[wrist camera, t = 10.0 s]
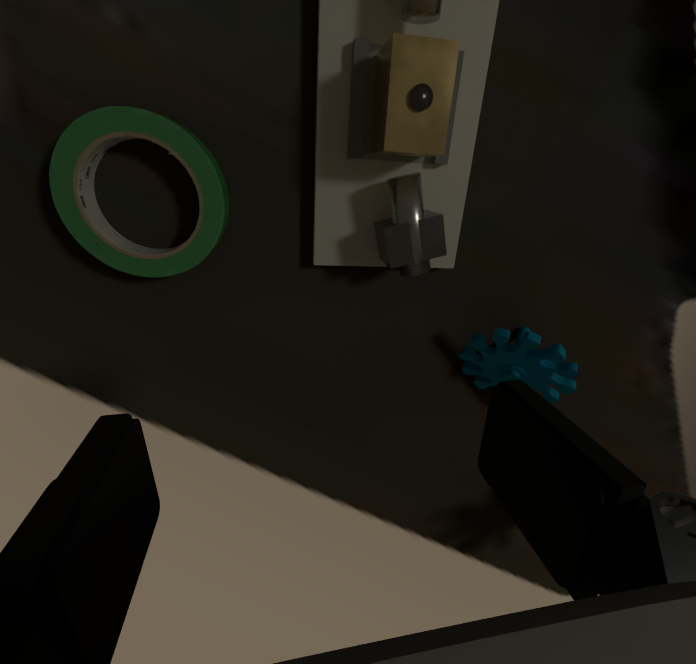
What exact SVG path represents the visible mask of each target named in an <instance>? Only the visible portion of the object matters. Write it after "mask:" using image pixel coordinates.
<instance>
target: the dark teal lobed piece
mask: <svg viewBox="0 0 696 664" xmlns="http://www.w3.org/2000/svg"><path fill="white" fill-rule="evenodd" d="M510 334H511V332H510V330H507V329H501V328H496V329H495V331H494V334H493V337H492V339H493V341H494V342H495V344H496V347H495V348H490V347H488V346H486V344H485V342H486V336H485V335H483V334H476V335H473V336H471V339H470V342H469V344H470V345H471V346H472V347H473V348H475V349H476V350H478V351H479V352H480V353H481V354H482V356H481V355H478V354H476V353H475V351H474V349H473V348H472V347H471V346H468V345H466V346H464V347H463V348H462V350H461V352H460V355H459V357H460V358H461V359H463V360H465V361H464V364H463V367H462V371H463V373H464V374H466V375H476V376H475V379H474V384H475V385H476V386H477V387H478V388H479V389H485V388H486V387H489V386H496V387H497V384H498V383H499V382H501V381H509V380H522V381H524V382H525V383H526V384H527V385H528V386H530V387H531V388H532V389H533V390H534V391H536V392H537V391H538V390H539V391H542V392H543V398H544V399H545V400H546V401H548V402H549V403H555V402H558V399H559V392H558V391H556V390H555V389H553V388H552V387H550V386H549V384H554V385H556V386H557V387H558V389H559V391H560V392H561V393H563V394H566V395H567V394H570V393H572V392H574V391H575V390H576V382H575V381H574V379H575V378H576V376H577V369H578V364H576V363H574V362H566V363H561V362H563V361H565V356H566V351H565V349H564V348H563V347H562V346H561V345H560V344H554V345H551V346H550V347H548V348H545V349H541V350H530V349H536V348H538V347H539V345H540V340H541V337H540V336H539V335H537V334H535V333H533V332H531V331H530V329H529V328H527V327H521V328H520V329H519V332H518V336H517V339H516V343H515V345H507V344H506V343H508V341H509V338H510ZM547 359H548V360H547ZM550 360H551V361H550ZM476 364H477V365H476ZM554 372H556V373H559V374H560V375H562V376H563V377H561V376H559V375H557V374H556V373H554ZM564 377H565V378H564Z"/></svg>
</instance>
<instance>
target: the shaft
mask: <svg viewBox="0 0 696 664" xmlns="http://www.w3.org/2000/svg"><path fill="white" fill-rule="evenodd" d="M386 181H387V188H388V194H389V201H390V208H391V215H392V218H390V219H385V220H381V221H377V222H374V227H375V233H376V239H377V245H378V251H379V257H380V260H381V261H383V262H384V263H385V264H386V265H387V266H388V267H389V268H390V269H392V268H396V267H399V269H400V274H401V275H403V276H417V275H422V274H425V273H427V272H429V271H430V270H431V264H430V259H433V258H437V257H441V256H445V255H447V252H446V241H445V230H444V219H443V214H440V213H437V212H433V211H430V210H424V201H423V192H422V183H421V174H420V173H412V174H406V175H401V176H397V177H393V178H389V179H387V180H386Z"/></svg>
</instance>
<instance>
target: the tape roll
mask: <svg viewBox="0 0 696 664" xmlns="http://www.w3.org/2000/svg"><path fill="white" fill-rule="evenodd" d="M130 139H146V140H149V141H152V142H154V143H156V144H158V145H160V146H162V147H163V148H165V149H167V150H168V151H169V154H172V155H173V156H175V157H176V158H177V159H178V160H179V161H180V162H181V163H182V164H183V166H184V167H185V168H186V170H187V171H188V173H189V175H190V176H191V178H192V180H193V182H194V184H195V186H196V190H197V192H198V197H199V210H200V211H199V218H198V221H197V225H196V228H195V230H194V232H193V233H192V235H191V236H190V238H189V239H188V240H187V241H186V242H185V243H183V244H181V245H179V246H176V247H173V248H169V249H152V248H146V247H143V246H140V245H137V244H135V243H133V242H131V241H129V240H127V239H126V238H124V237H123V236H121V235H120V234H119V233H118V232H116V231H115V230H114V229H113V228H112V226H111V225H110V224H109V223H108V222H107V220H106V219H105V217H104V216H103V214H102V212H101V211H100V208H99V206H98V204H97V201H96V197H95V192H94V176H95V171H96V168H97V166H98V163H99V161H100V160H101V158H102V157H103V155H104V154H105V153H106V152H107V151H108V150H109V149H110V148H112V147H113V146H115V145H116V144H118V143H120V142H123V141H126V140H130ZM49 183H50V189H51V194H52V199H53V202H54V205H55V207H56V210H57V212H58V214H59V216H60V218H61V220H62V222H63V223H64V225H65V226H66V228H67V229H68V231H69V232H70V234H71V235H72V236H73V237H74V239H75V240H76V241H77V242H78V243H79V244H80V245H81V246H82V247H83V248H84V249H85V250H87V251H88V252H89V253H90V254H91V255H93V256H94V257H95V258H97V259H98V260H100V261H101V262H103V263H105V264H106V265H108V266H110V267H112V268H114V269H116V270H119V271H122V272H125V273H128V274H131V275H135V276H142V277H152V278H155V277H167V276H173V275H177V274H180V273H183V272H185V271H187V270H189V269H191V268H193V267H195V266H196V265H198V264H199V263H200V262H202V261H203V260H204V259H205V258H206V257H207V256H208V255H209V254H210V253H211V251H212V250H213V249H214V248H215V247H216V245H217V244H218V242H219V241H220V239H221V237H222V235H223V233H224V231H225V228H226V225H227V221H228V215H229V197H228V190H227V186H226V182H225V179H224V176H223V174H222V171H221V169H220V167H219V165H218V163H217V161H216V160H215V158H214V157H213V155H212V154H211V152H210V151H209V150H208V148H207V147H206V146H205V145H204V144H203V143H202V142H201V141H200V140H199V139H198V138H197V137H196V136H195V135H194V134H193V133H192V132H190V131H189V130H188V129H186V128H185V127H184V126H182V125H180V124H179V123H177V122H175V121H173V120H171V119H169V118H167V117H164V116H162V115H159V114H156V113H153V112H150V111H147V110H144V109H140V108H135V107H127V106H110V107H104V108H100V109H96V110H93V111H91V112H88V113H86V114H84V115H82V116H81V117H79V118H78V119H76V120H75V121H74V122H73V123H71V124H70V125H69V126H68V127H67V128H66V130H65V131H64V132H63V133H62V135H61V136H60V138H59V140H58V141H57V144H56V145H55V148H54V151H53V154H52V157H51V162H50V168H49Z"/></svg>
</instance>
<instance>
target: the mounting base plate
mask: <svg viewBox="0 0 696 664" xmlns="http://www.w3.org/2000/svg"><path fill="white" fill-rule="evenodd" d="M498 5H499V0H442V6H441V14H440V19H439V20H438V21H436V22H434V23H431V24H424V25H417V24H410V23H407V22H405V21H403V20H402V19H401V6H402V0H318V44H317V91H316V138H315V186H314V233H313V264H314V265H333V266H376V267H388V266H387V265H386V264H385V263H384V262H383V261H381V260H380V257H379V251H378V245H377V239H376V233H375V227H374V222H377V221H381V220H385V219H390V218H392V215H391V208H390V201H389V194H388V188H387V181H386V180H387V179H389V178H393V177H397V176H401V175H406V174H412V173H420V174H421V183H422V192H423V201H424V210H430V211H433V212H437V213H440V214H443V219H444V230H445V241H446V252H447V255H445V256H441V257H437V258H433V259H430V264H431V268H454V263H455V257H456V251H457V245H458V239H459V233H460V228H461V222H462V216H463V210H464V204H465V198H466V192H467V187H468V181H469V175H470V169H471V163H472V157H473V151H474V146H475V140H476V134H477V128H478V122H479V116H480V110H481V104H482V99H483V93H484V87H485V81H486V75H487V69H488V63H489V58H490V52H491V46H492V40H493V34H494V28H495V22H496V17H497V11H498ZM393 33H400V34H408V35H416V36H425V37H433V38H441V39H449V40H457V41H460V46H459V53H458V60H457V67H456V74H455V82H454V89H453V96H452V103H451V110H450V117H449V124H448V131H447V139H446V146H445V153H444V155H439V156H429V157H410V156H395V155H380V154H369V151H370V137H371V123H372V108H373V94H374V79H375V65H376V55H377V53H378V52H379V51H380V50H381V48H382V47H383V46H384V44H385V43H386V42H387V41H388V39H389V38H390V37H391V35H392V34H393Z"/></svg>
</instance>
